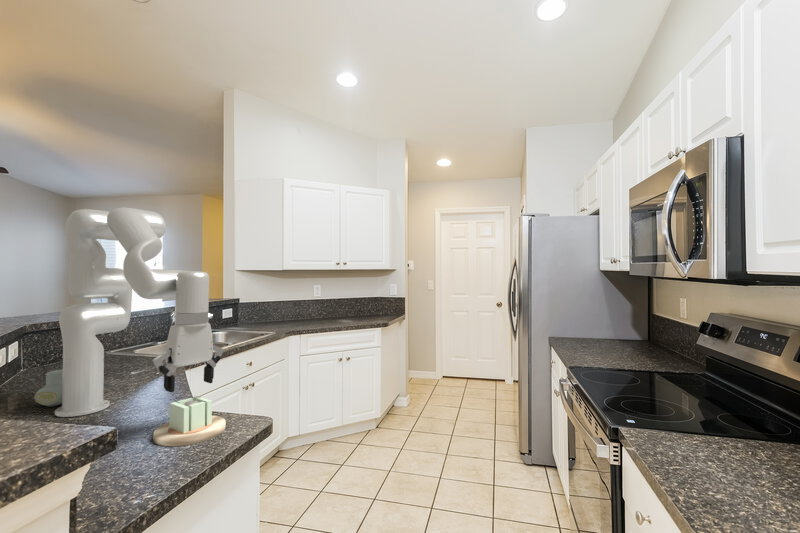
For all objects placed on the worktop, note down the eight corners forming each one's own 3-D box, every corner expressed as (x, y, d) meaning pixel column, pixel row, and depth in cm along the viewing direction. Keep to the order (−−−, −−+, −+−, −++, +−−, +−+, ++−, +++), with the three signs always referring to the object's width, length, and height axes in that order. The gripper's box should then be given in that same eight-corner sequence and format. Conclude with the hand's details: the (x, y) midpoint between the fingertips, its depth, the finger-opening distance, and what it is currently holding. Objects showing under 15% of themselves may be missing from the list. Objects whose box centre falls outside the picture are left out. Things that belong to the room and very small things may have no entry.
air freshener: (28, 408, 117) (28, 374, 117) (53, 399, 125) (53, 368, 125) (64, 407, 116) (64, 374, 117) (86, 398, 125) (86, 367, 125)
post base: (141, 436, 95) (141, 405, 95) (204, 416, 108) (204, 389, 109) (173, 452, 86) (174, 418, 86) (238, 428, 100) (238, 399, 100)
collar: (169, 427, 96) (169, 403, 97) (197, 418, 102) (197, 396, 102) (183, 433, 93) (184, 408, 93) (211, 424, 98) (211, 400, 99)
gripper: (215, 315, 108) (214, 376, 107) (147, 321, 93) (145, 392, 93) (231, 317, 103) (229, 381, 103) (162, 323, 89) (160, 398, 89)
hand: (189, 386), depth 98 cm, fingers open, 9 cm apart
